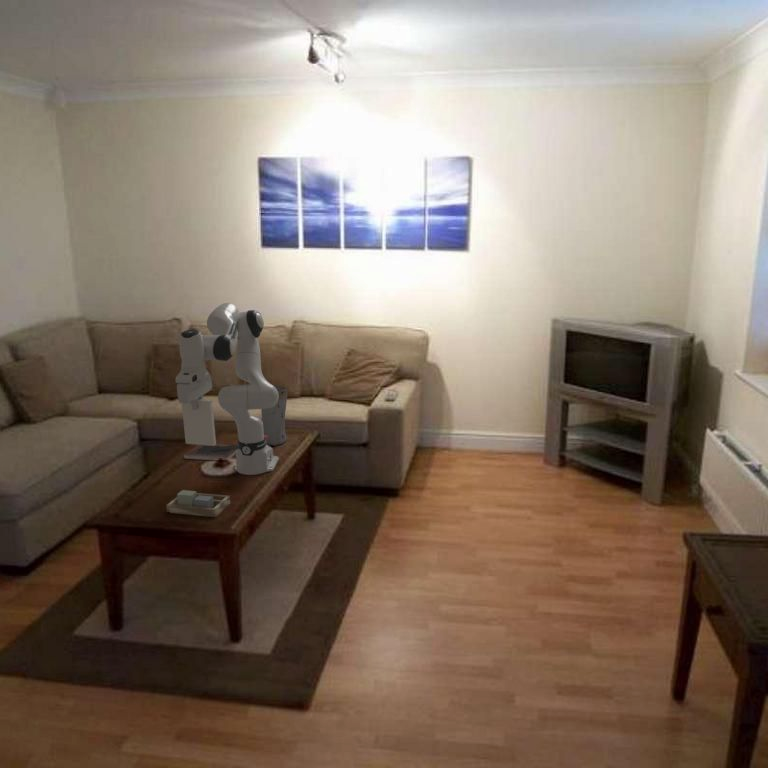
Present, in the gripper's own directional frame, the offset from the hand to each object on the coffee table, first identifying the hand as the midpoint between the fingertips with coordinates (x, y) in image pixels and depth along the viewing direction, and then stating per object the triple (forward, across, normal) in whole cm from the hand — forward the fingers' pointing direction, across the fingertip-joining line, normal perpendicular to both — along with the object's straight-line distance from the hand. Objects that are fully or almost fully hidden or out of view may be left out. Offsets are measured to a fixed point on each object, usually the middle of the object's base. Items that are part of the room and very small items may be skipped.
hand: (197, 408), depth 255 cm
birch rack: (+39, +6, 0) cm, 40 cm away
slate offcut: (+39, +8, +3) cm, 40 cm away
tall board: (+15, 0, 0) cm, 15 cm away
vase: (+39, -70, +2) cm, 80 cm away
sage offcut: (+39, +8, -4) cm, 40 cm away
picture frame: (+40, -50, -22) cm, 67 cm away
